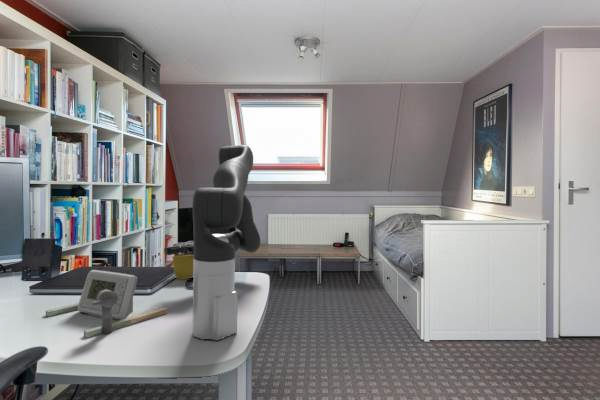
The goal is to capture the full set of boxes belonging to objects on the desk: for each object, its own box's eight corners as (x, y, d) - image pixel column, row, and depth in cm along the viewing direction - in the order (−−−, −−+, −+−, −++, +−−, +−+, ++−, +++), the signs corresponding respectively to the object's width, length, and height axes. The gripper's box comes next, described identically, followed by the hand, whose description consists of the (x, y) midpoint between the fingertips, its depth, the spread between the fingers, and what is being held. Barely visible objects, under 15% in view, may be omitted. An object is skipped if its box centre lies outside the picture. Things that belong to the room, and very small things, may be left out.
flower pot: (172, 275, 136) (173, 251, 135) (197, 274, 138) (197, 251, 138) (172, 281, 127) (172, 256, 127) (198, 280, 130) (198, 255, 130)
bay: (172, 315, 95) (172, 278, 94) (91, 340, 78) (92, 296, 78) (122, 297, 109) (123, 265, 108) (45, 315, 92) (45, 277, 92)
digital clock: (74, 312, 95) (74, 271, 95) (108, 303, 103) (108, 266, 103) (109, 326, 87) (110, 281, 86) (143, 315, 94) (144, 274, 94)
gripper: (198, 232, 125) (152, 236, 111) (225, 235, 117) (180, 240, 103) (198, 254, 125) (152, 261, 111) (225, 259, 118) (179, 266, 103)
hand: (166, 251), depth 107 cm, fingers closed
